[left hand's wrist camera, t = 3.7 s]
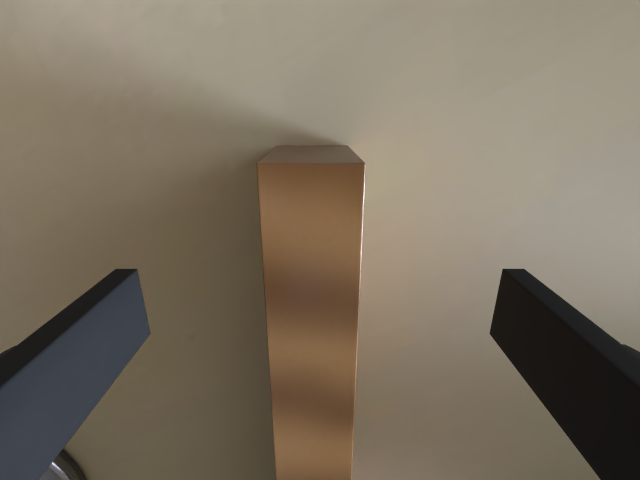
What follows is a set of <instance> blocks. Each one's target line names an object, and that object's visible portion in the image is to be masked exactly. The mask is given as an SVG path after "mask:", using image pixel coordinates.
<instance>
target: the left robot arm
mask: <svg viewBox="0 0 640 480" xmlns="http://www.w3.org/2000/svg"><path fill="white" fill-rule="evenodd" d="M149 335H150V329H149V324H148V319H147V314H146V309H145V305H144V300H143V295H142V290H141V285H140V280H139V275H138V270H137V269H115V270H114V271H113V272H111V273H110V274H109V275H107V276H106V277H105V278H104V279H102V280H101V281H100V282H98V283H97V284H96V285H95V286H93V287H92V288H91V289H89V290H88V291H87V292H86V293H84V294H83V295H82V296H80V297H79V298H78V299H77V300H75V301H74V302H73V303H71V304H70V305H69V306H67V307H66V308H65V309H64V310H62V311H61V312H60V313H58V314H57V315H56V316H55V317H53V318H52V319H51V320H49V321H48V322H47V323H46V324H44V325H43V326H42V327H40V328H39V329H38V330H37V331H35V332H34V333H33V334H31V335H30V336H29V337H27V338H26V339H25V340H24V341H22V342H21V343H20V344H18V345H17V346H14V347H12V348H10V349H8V350H6V351H4V352H3V353H1V354H0V480H85V478H84V476H83V474H82V473H81V471H80V469H79V468H78V467H77V465H76V464H75V463H74V462H73V461H72V460H71V459H70V458H69V457H68V456H67V455H66V454H65V453H64V452H63V451H61V450H62V449H63V448H64V446H65V445H66V444H67V443H68V441H69V440H70V439H71V437H72V436H73V435H74V433H75V432H76V431H77V429H78V428H79V427H80V425H81V424H82V423H83V422H84V420H85V419H86V418H87V416H88V415H89V414H90V412H91V411H92V410H93V408H94V407H95V406H96V404H97V403H98V402H99V400H100V399H101V398H102V397H103V395H104V394H105V393H106V391H107V390H108V389H109V387H110V386H111V385H112V383H113V382H114V381H115V379H116V378H117V377H118V376H119V374H120V373H121V372H122V370H123V369H124V368H125V366H126V365H127V364H128V362H129V361H130V360H131V358H132V357H133V356H134V355H135V353H136V352H137V351H138V349H139V348H140V347H141V345H142V344H143V343H144V341H145V340H146V339H147V337H148V336H149ZM490 335H491V336H492V337H493V339H494V340H495V341H496V343H497V344H498V345H499V347H500V348H501V349H502V351H503V352H504V353H505V355H506V356H507V357H508V358H509V360H510V361H511V362H512V364H513V365H514V366H515V368H516V369H517V370H518V372H519V373H520V374H521V376H522V377H523V378H524V379H525V381H526V382H527V383H528V385H529V386H530V387H531V389H532V390H533V391H534V393H535V394H536V395H537V397H538V398H539V399H540V400H541V402H542V403H543V404H544V406H545V407H546V408H547V410H548V411H549V412H550V414H551V415H552V416H553V418H554V419H555V420H556V422H557V423H558V424H559V425H560V427H561V428H562V429H563V431H564V432H565V433H566V435H567V436H568V437H569V439H570V440H571V441H572V443H573V444H574V445H575V446H576V448H577V449H578V450H579V452H580V453H581V454H582V456H583V457H584V458H585V460H586V461H587V462H588V464H589V465H590V466H591V467H592V469H593V470H594V471H595V473H596V474H597V475H598V477H599V478H600V479H601V480H640V352H638V351H637V350H635V349H633V348H631V347H629V346H627V345H625V344H620V343H619V342H618V341H616V340H615V339H614V338H613V337H611V336H610V335H609V334H607V333H606V332H605V331H603V330H602V329H601V328H600V327H598V326H597V325H596V324H594V323H593V322H592V321H591V320H589V319H588V318H587V317H585V316H584V315H583V314H582V313H580V312H579V311H578V310H576V309H575V308H574V307H573V306H571V305H570V304H569V303H567V302H566V301H565V300H563V299H562V298H561V297H560V296H558V295H557V294H556V293H554V292H553V291H552V290H551V289H549V288H548V287H547V286H545V285H544V284H543V283H542V282H540V281H539V280H538V279H536V278H535V277H534V276H533V275H531V274H530V273H529V272H527V271H526V270H525V269H503V270H502V275H501V280H500V285H499V290H498V295H497V300H496V305H495V309H494V314H493V319H492V324H491V329H490Z"/></svg>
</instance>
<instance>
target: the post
mask: <svg viewBox="0 0 640 480" xmlns="http://www.w3.org/2000/svg"><path fill="white" fill-rule="evenodd" d="M257 179H258V195H259V211H260V227H261V244H262V260H263V276H264V292H265V308H266V324H267V340H268V356H269V372H270V389H271V405H272V421H273V437H274V453H275V469H276V480H351V478H352V456H353V433H354V411H355V388H356V366H357V343H358V321H359V298H360V276H361V253H362V231H363V209H364V186H365V163H364V162H363V161H362V160H361V159H360V158H359V157H358V156H357V155H356V154H355V153H354V152H353V151H352V150H351V149H350V148H349V147H348V146H276V147H275V148H274V149H273V150H272V151H271V152H269V153H268V154H267V155H266V156H265V157H264V158H263V159H261V160H260V161H259V162H258V163H257Z"/></svg>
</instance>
